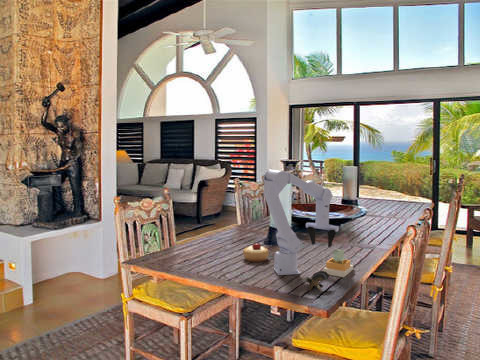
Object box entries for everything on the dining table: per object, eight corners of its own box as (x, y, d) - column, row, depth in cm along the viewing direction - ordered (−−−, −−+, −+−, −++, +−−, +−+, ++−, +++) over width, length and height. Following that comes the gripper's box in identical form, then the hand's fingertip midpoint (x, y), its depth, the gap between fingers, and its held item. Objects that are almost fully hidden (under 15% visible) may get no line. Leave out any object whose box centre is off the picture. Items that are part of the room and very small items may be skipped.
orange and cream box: (343, 277, 164) (344, 266, 163) (322, 273, 168) (323, 262, 168) (353, 269, 174) (353, 259, 173) (332, 265, 178) (333, 255, 178)
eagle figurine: (323, 291, 145) (333, 280, 152) (312, 274, 146) (322, 264, 153) (308, 297, 150) (318, 286, 157) (297, 281, 151) (308, 270, 158)
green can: (335, 268, 168) (335, 252, 167) (331, 265, 172) (331, 249, 172) (345, 268, 169) (345, 251, 168) (341, 265, 173) (341, 249, 173)
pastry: (266, 265, 181) (267, 245, 180) (240, 262, 184) (241, 243, 182) (269, 256, 193) (270, 238, 192) (245, 254, 195) (246, 236, 194)
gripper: (341, 215, 175) (340, 245, 176) (310, 211, 183) (309, 241, 184) (335, 217, 169) (334, 249, 171) (304, 214, 177) (303, 244, 179)
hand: (321, 245), depth 177 cm, fingers open, 7 cm apart
